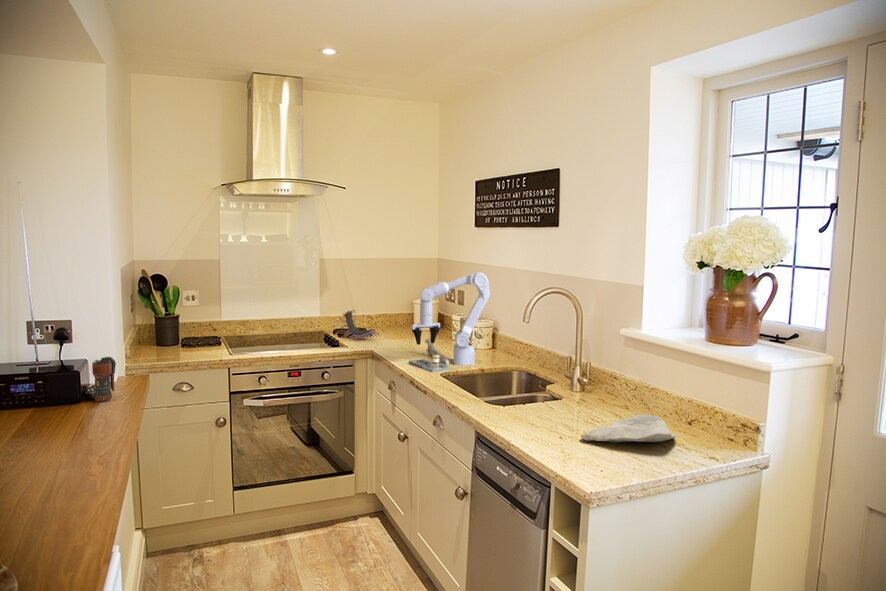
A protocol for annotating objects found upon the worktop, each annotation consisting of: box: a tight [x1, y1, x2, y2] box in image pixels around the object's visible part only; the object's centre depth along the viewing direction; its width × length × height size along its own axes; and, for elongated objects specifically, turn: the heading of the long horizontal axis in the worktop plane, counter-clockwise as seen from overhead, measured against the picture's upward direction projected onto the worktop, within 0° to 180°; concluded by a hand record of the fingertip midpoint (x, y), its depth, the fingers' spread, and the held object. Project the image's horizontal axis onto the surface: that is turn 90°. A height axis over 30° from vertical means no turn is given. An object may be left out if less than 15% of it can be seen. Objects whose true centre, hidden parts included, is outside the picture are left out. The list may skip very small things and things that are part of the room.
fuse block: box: [408, 358, 432, 369], centre depth 277 cm, size 8×10×2 cm
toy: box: [339, 309, 381, 341], centre depth 342 cm, size 12×26×15 cm, turn 45°
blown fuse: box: [431, 354, 440, 369], centre depth 269 cm, size 3×3×6 cm
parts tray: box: [421, 363, 451, 373], centre depth 269 cm, size 9×9×2 cm
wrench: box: [424, 338, 450, 366], centre depth 291 cm, size 8×2×30 cm
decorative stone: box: [580, 414, 677, 443], centre depth 186 cm, size 28×7×30 cm
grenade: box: [91, 356, 117, 403], centre depth 213 cm, size 6×8×15 cm
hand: (425, 343), depth 279 cm, fingers open, 7 cm apart
